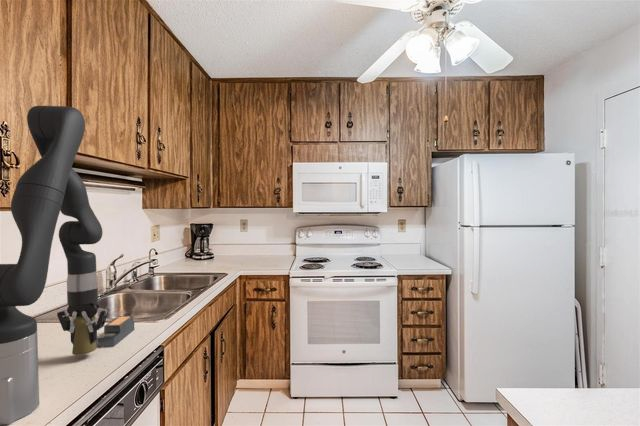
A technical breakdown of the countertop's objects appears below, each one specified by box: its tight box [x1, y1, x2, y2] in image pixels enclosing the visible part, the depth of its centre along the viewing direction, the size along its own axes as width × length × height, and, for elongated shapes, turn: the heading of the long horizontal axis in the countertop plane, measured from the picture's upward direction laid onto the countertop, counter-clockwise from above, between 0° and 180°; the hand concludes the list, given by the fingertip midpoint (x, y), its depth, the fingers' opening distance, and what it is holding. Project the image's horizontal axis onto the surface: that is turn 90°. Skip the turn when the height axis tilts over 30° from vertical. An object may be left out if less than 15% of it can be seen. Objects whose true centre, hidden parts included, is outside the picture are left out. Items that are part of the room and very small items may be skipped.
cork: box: [71, 316, 97, 356], centre depth 100 cm, size 6×6×11 cm
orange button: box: [107, 317, 130, 325], centre depth 115 cm, size 8×4×2 cm, turn 5°
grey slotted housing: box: [97, 315, 135, 348], centre depth 114 cm, size 14×5×6 cm, turn 5°
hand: (84, 343), depth 100 cm, fingers closed on cork, 4 cm apart
